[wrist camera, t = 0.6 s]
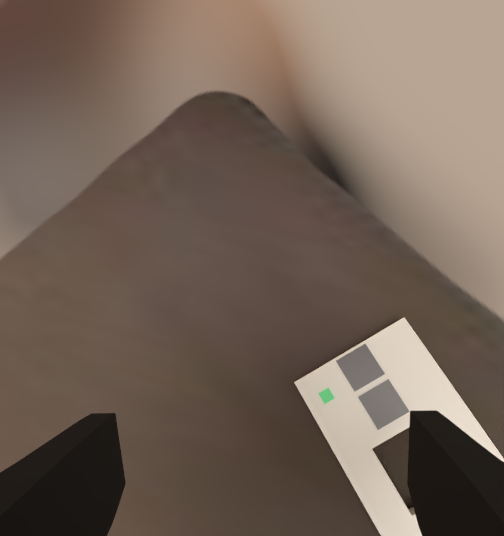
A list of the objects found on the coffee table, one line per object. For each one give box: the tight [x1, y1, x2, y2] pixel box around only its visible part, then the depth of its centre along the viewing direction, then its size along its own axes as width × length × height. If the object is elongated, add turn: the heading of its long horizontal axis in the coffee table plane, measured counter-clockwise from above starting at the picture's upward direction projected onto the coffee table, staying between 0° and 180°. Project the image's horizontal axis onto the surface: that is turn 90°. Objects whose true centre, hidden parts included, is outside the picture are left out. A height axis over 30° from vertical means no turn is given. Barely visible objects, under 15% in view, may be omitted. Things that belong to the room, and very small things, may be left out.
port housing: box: [294, 318, 504, 536], centre depth 31 cm, size 12×9×2 cm
